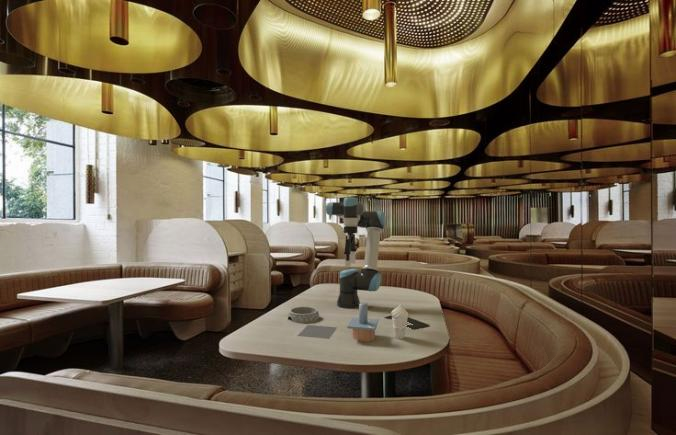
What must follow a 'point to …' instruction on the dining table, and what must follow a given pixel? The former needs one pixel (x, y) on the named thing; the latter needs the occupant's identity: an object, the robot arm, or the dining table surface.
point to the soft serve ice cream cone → (399, 321)
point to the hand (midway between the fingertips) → (350, 264)
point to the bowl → (363, 335)
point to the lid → (363, 320)
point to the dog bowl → (304, 314)
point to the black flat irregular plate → (415, 323)
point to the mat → (317, 331)
